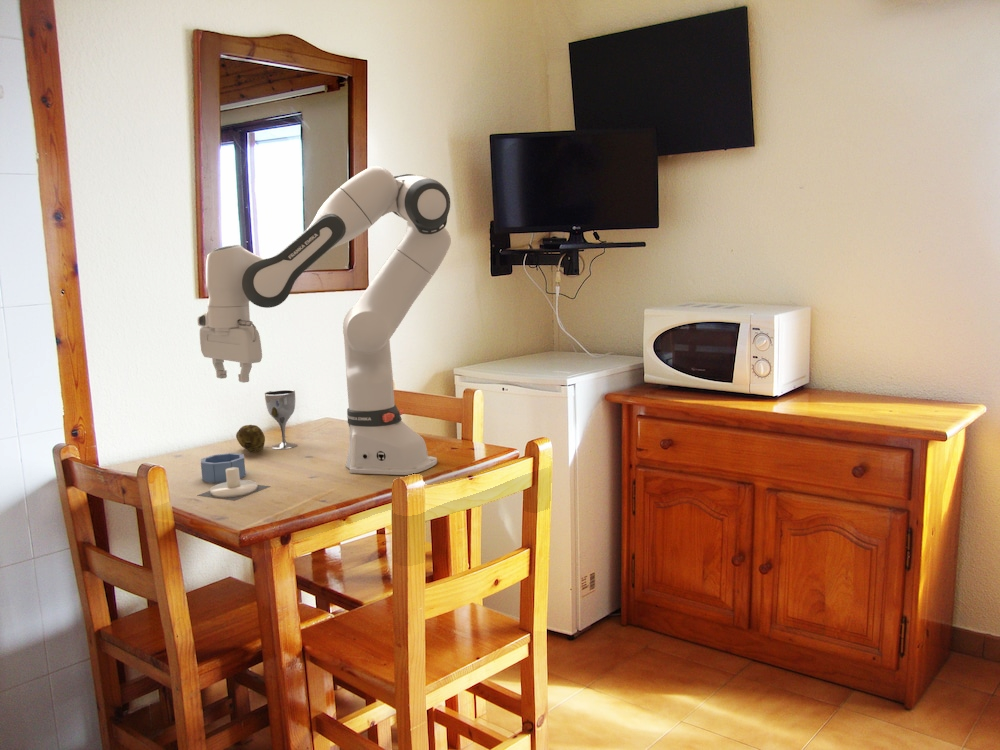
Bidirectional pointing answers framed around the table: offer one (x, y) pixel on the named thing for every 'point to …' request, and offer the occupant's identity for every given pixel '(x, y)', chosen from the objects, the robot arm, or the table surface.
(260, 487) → the mat
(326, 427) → the table surface
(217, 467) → the bowl
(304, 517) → the table surface
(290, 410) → the silver goblet
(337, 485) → the table surface
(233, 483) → the lid
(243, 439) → the potato
